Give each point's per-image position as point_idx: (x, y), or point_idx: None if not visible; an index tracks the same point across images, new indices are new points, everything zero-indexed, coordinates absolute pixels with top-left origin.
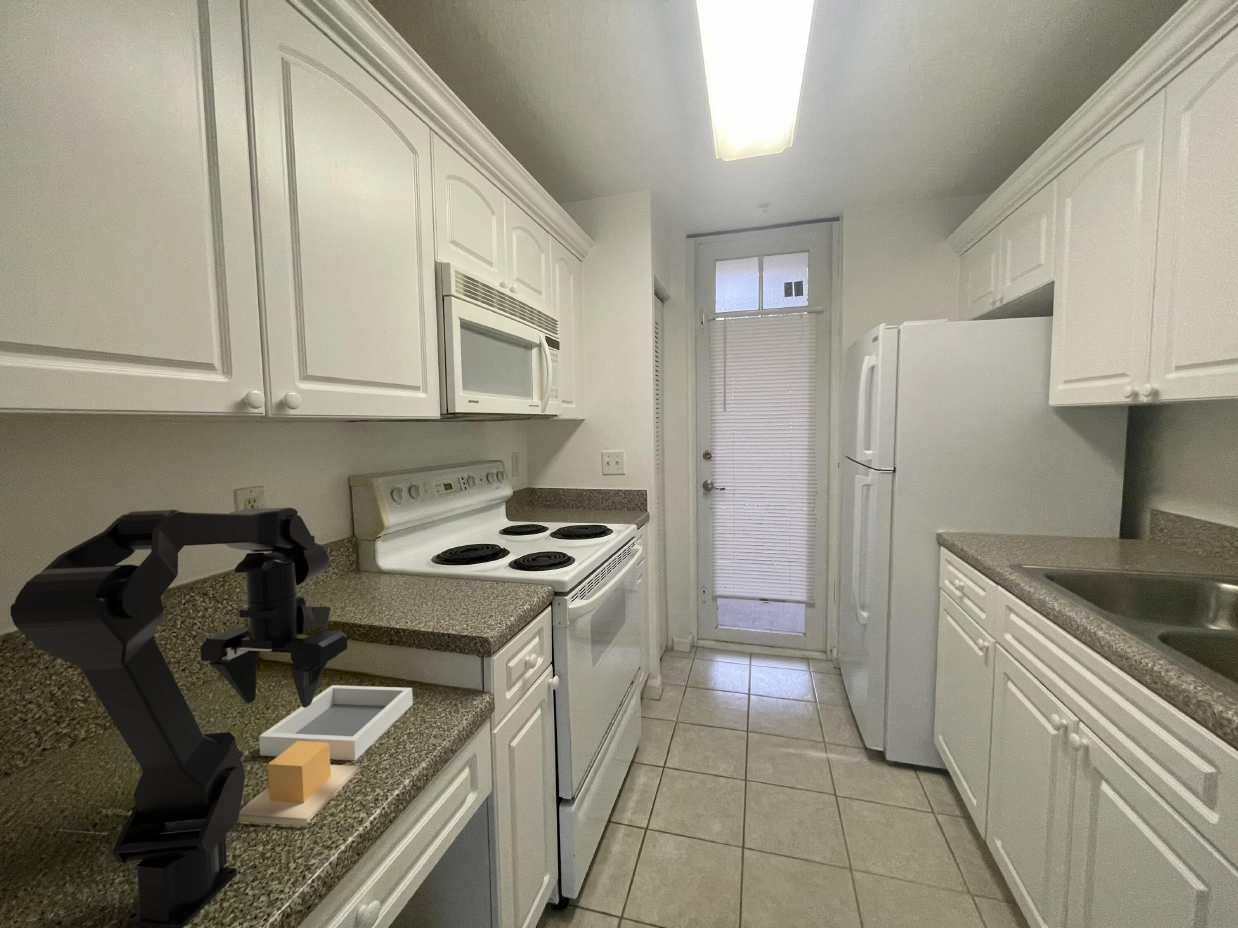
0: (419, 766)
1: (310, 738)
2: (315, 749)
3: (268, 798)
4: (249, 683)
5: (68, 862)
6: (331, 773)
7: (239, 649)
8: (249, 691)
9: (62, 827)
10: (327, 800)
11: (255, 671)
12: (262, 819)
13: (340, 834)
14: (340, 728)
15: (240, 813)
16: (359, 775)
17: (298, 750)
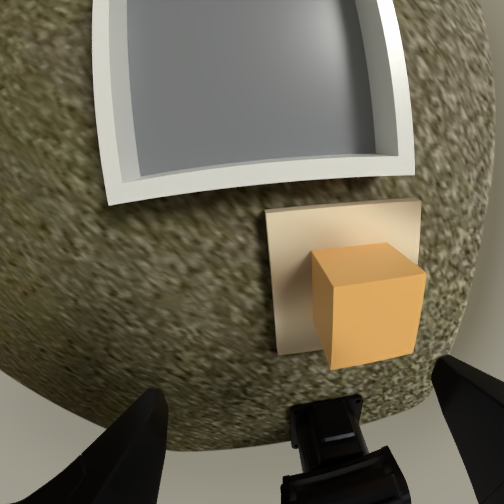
0: (491, 164)
1: (279, 181)
2: (409, 303)
3: (305, 317)
4: (142, 469)
5: (122, 412)
6: (380, 231)
7: None
8: (157, 444)
9: (41, 372)
10: None
11: (111, 485)
12: None
13: (448, 319)
14: (244, 50)
15: (286, 353)
16: None
17: (368, 317)
